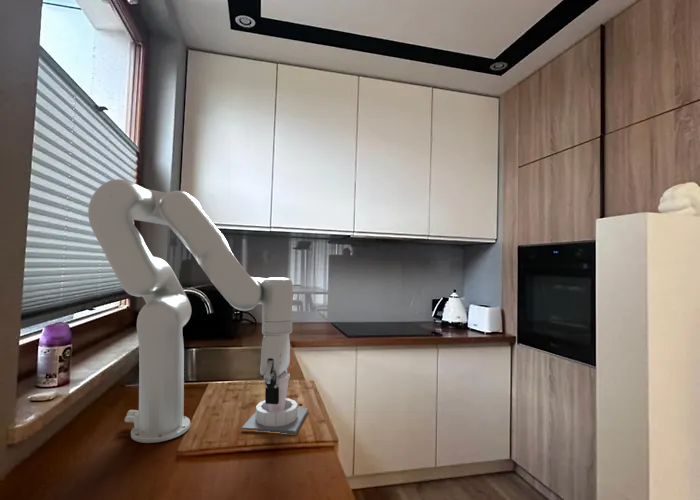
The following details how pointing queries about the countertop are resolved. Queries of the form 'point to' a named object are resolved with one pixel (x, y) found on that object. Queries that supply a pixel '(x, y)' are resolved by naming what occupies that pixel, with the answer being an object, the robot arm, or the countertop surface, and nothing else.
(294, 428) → the holder
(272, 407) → the smoothie
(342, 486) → the countertop surface
